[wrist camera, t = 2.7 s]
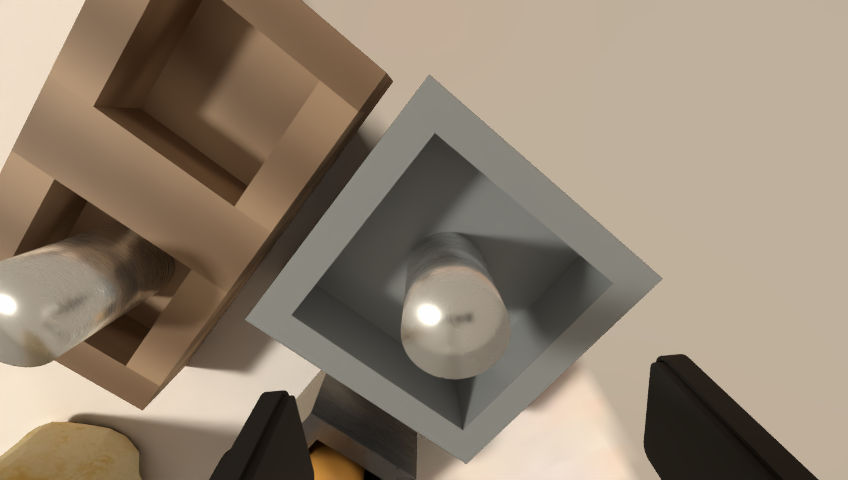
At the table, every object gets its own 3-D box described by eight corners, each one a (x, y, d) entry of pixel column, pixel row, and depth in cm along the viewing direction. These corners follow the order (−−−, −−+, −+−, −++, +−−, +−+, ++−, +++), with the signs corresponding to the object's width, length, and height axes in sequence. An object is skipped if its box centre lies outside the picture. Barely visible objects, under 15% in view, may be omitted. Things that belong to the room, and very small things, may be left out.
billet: (500, 263, 22) (533, 324, 16) (450, 317, 23) (461, 397, 17) (440, 215, 22) (449, 259, 15) (391, 274, 23) (378, 339, 16)
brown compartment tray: (206, -78, 18) (149, -130, 15) (393, 81, 20) (386, 72, 17) (18, 266, 23) (-60, 295, 20) (184, 366, 25) (142, 410, 22)
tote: (613, 245, 23) (662, 278, 18) (458, 401, 26) (466, 464, 22) (427, 84, 21) (429, 74, 16) (280, 279, 24) (244, 319, 19)
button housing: (417, 413, 27) (416, 478, 22) (356, 477, 28) (342, 550, 23) (331, 357, 25) (310, 412, 20) (272, 427, 27) (240, 493, 22)
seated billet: (189, 253, 22) (87, 311, 15) (152, 308, 23) (41, 385, 16) (117, 204, 21) (-24, 244, 15) (81, 264, 22) (-65, 326, 16)
